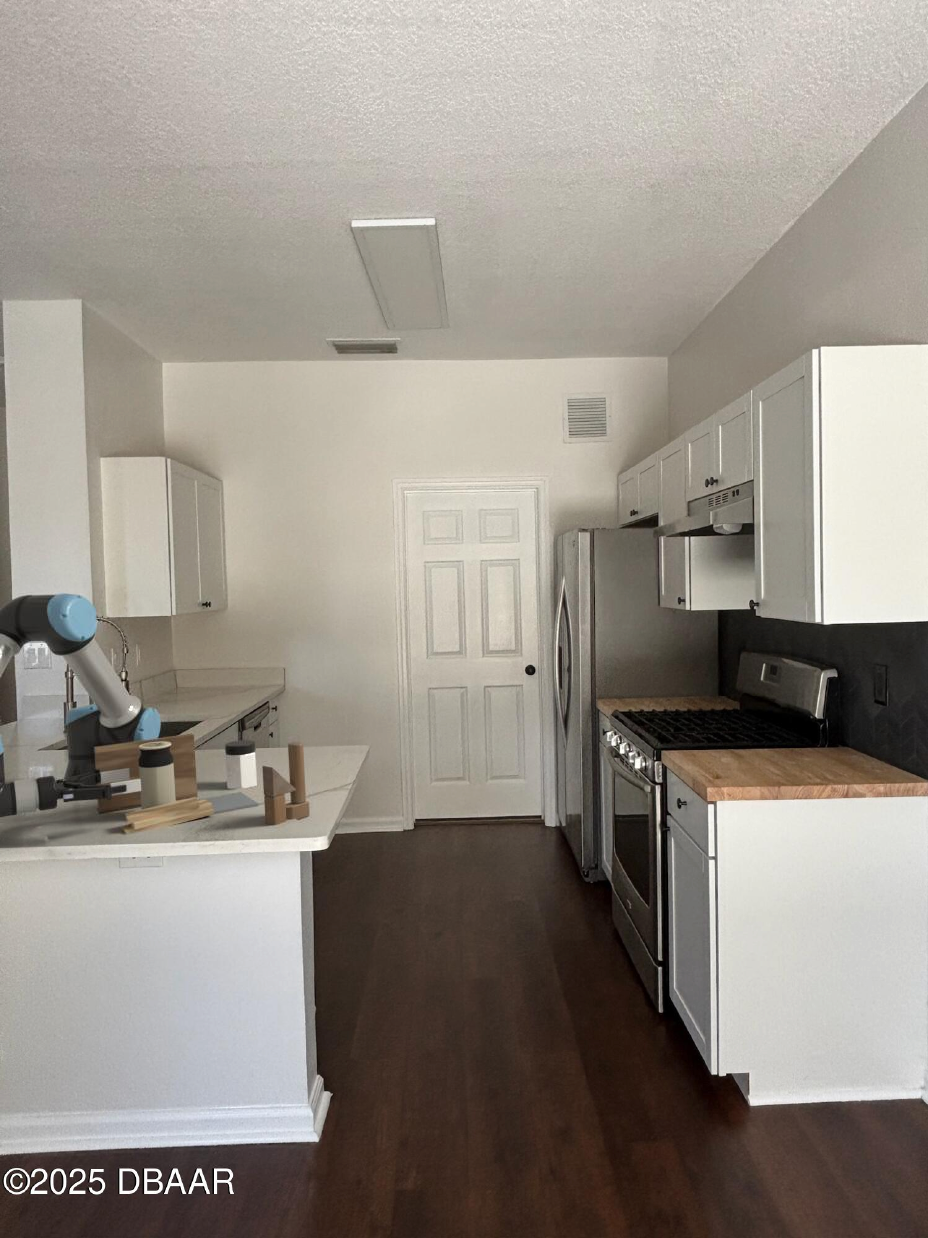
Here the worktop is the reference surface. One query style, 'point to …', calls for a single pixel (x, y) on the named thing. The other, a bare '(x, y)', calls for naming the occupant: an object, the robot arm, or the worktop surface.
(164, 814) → the offcut stack
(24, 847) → the worktop surface
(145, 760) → the travel mug
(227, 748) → the jar
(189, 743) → the wooden board
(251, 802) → the mat
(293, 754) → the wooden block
